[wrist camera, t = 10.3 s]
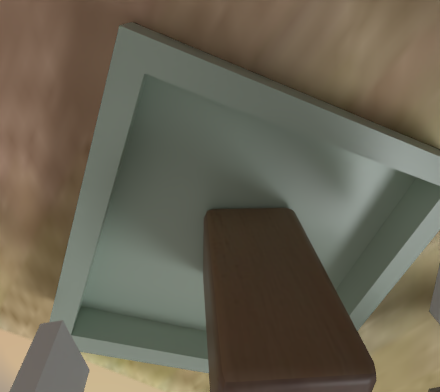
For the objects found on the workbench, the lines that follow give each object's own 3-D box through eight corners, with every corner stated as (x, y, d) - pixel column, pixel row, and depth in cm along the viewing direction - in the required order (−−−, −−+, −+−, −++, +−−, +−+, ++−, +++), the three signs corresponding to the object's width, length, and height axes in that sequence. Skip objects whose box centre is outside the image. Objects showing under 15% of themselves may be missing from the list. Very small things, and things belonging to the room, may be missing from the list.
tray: (131, 21, 12) (119, 25, 10) (441, 150, 15) (484, 174, 13) (61, 303, 18) (44, 345, 16) (296, 350, 21) (309, 390, 19)
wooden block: (202, 276, 17) (214, 471, 10) (203, 205, 15) (219, 385, 8) (283, 273, 17) (351, 459, 10) (294, 203, 15) (387, 374, 8)
